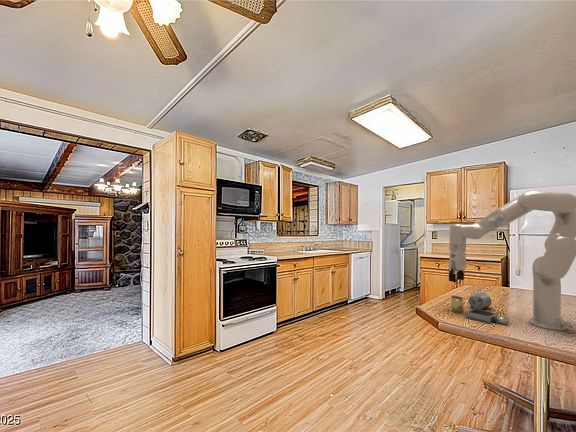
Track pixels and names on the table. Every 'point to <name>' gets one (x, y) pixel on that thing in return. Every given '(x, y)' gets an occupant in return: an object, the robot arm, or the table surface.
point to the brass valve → (457, 304)
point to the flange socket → (486, 316)
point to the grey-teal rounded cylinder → (479, 300)
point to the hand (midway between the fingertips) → (456, 280)
